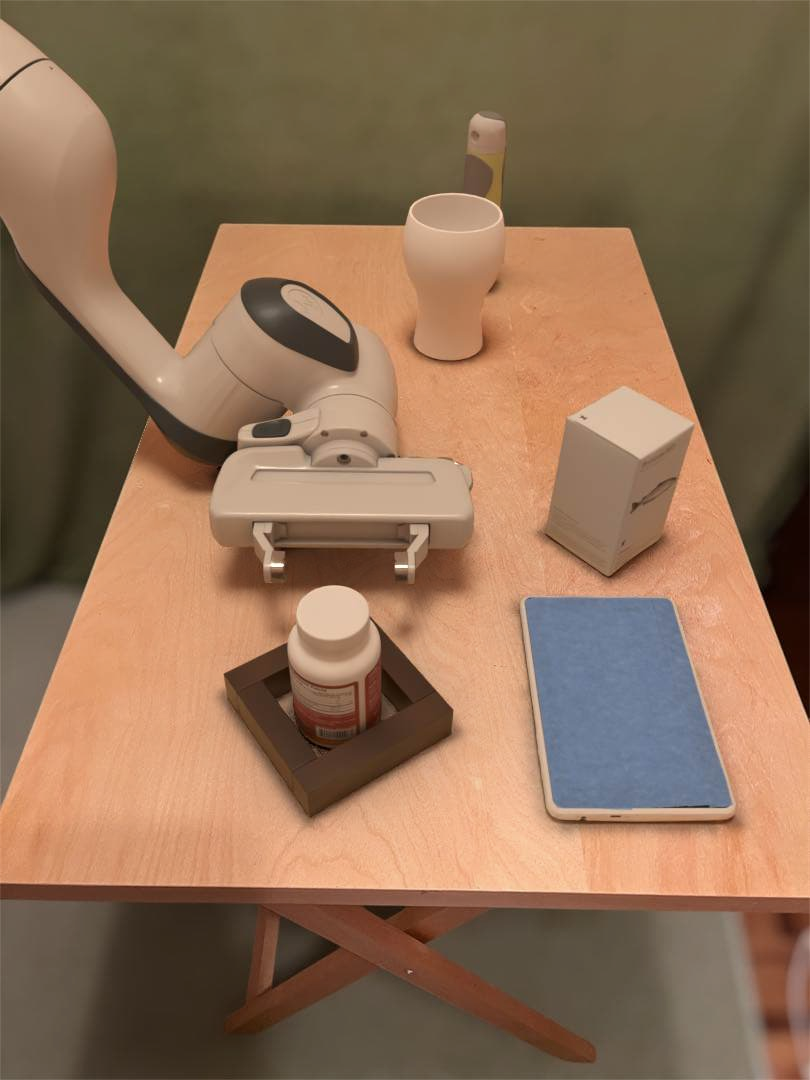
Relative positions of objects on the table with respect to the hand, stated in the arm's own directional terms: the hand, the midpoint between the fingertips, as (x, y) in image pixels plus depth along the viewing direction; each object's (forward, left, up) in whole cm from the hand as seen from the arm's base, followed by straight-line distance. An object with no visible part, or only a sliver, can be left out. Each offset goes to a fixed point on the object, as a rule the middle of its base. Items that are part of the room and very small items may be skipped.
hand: (339, 577), depth 66 cm
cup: (+33, +30, -7) cm, 45 cm away
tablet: (+13, -16, -7) cm, 22 cm away
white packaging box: (+25, -3, -7) cm, 26 cm away
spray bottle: (+44, +39, -7) cm, 59 cm away
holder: (-4, -6, -7) cm, 10 cm away
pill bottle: (-4, -6, -7) cm, 10 cm away
